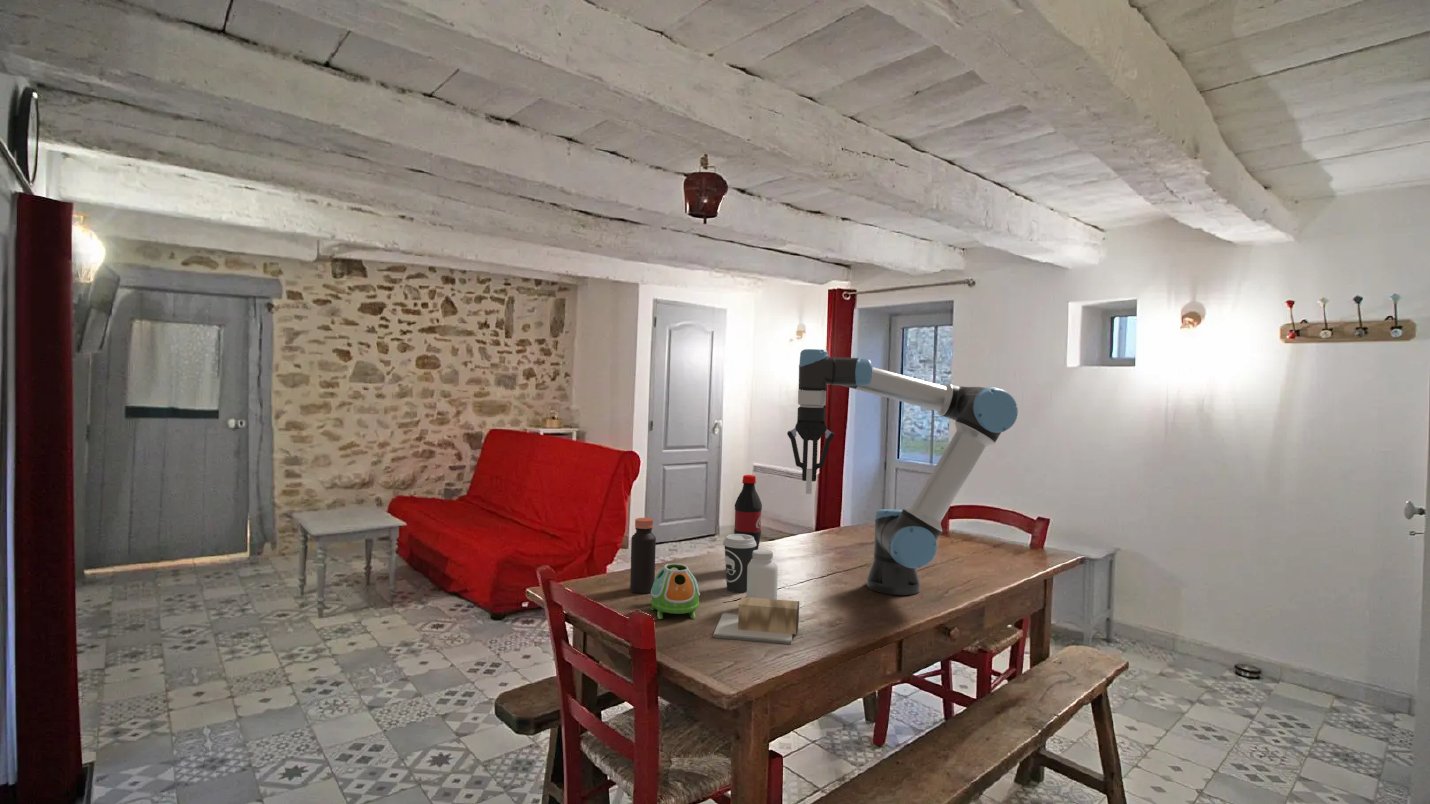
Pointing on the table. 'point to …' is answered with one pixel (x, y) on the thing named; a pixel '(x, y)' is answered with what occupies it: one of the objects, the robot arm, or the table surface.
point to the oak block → (768, 615)
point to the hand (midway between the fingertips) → (808, 492)
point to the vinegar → (642, 557)
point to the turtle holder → (675, 591)
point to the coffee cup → (738, 560)
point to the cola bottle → (748, 510)
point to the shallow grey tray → (746, 632)
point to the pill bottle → (762, 575)
